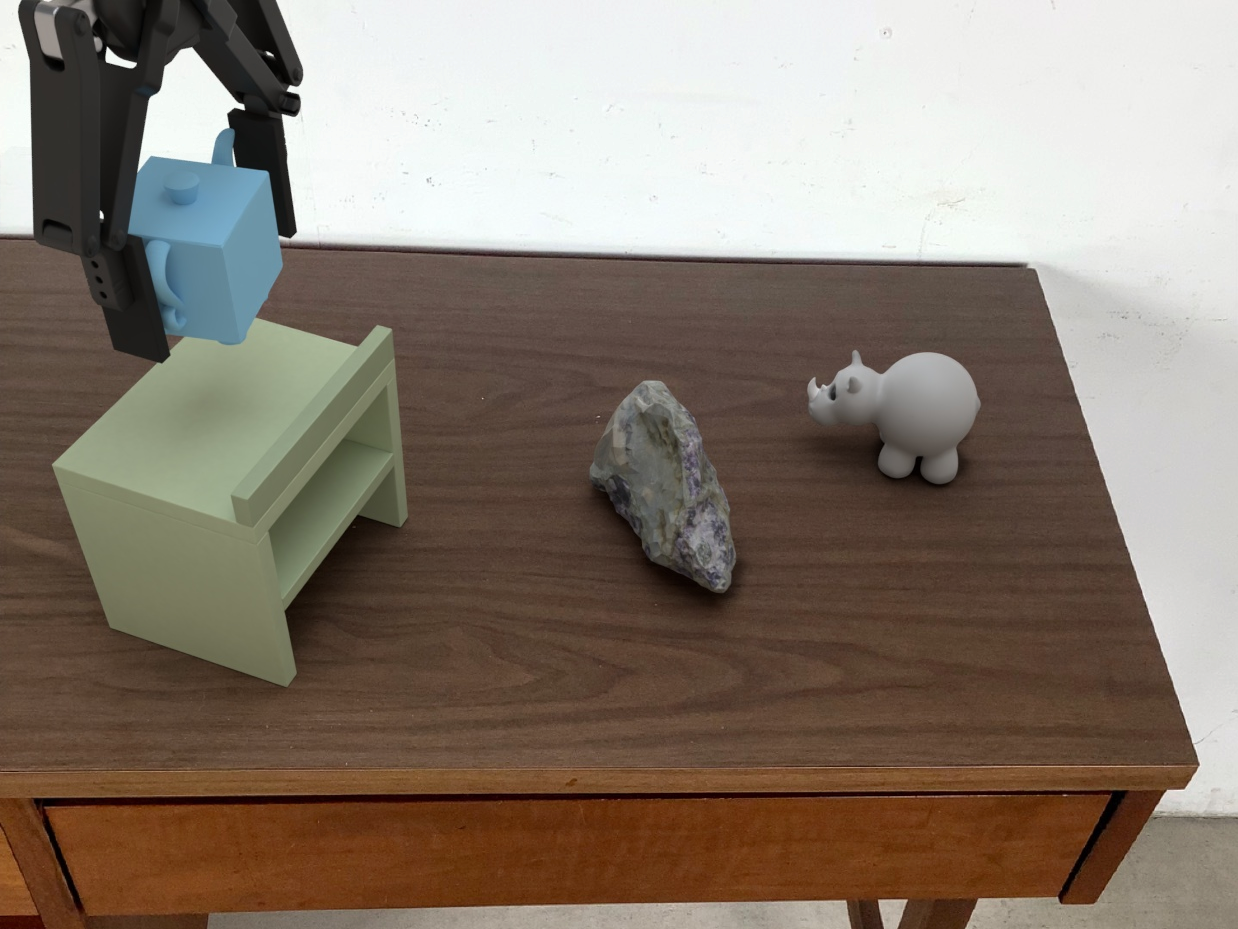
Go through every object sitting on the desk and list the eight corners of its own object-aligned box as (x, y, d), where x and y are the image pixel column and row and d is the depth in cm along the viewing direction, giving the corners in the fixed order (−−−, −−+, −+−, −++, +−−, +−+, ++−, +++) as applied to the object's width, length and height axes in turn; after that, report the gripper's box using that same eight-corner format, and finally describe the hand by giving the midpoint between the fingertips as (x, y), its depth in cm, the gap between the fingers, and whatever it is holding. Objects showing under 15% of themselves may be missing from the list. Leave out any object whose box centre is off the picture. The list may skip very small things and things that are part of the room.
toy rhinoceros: (801, 408, 96) (821, 312, 90) (959, 436, 96) (991, 341, 89) (791, 469, 92) (812, 372, 85) (957, 499, 91) (990, 404, 84)
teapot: (196, 234, 71) (169, 103, 66) (303, 248, 71) (285, 118, 66) (114, 361, 64) (75, 225, 58) (233, 377, 63) (206, 242, 58)
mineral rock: (727, 618, 81) (749, 502, 74) (561, 592, 82) (566, 474, 74) (744, 485, 90) (765, 369, 82) (594, 463, 90) (602, 345, 83)
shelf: (109, 628, 77) (40, 434, 66) (249, 467, 87) (209, 277, 76) (287, 688, 75) (247, 499, 64) (408, 517, 85) (392, 328, 74)
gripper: (-3, -64, 42) (141, 442, 58) (343, -244, 58) (381, 196, 74) (-193, -109, 43) (0, 399, 60) (196, -274, 59) (265, 166, 75)
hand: (211, 288), depth 67 cm, fingers closed on teapot, 12 cm apart
